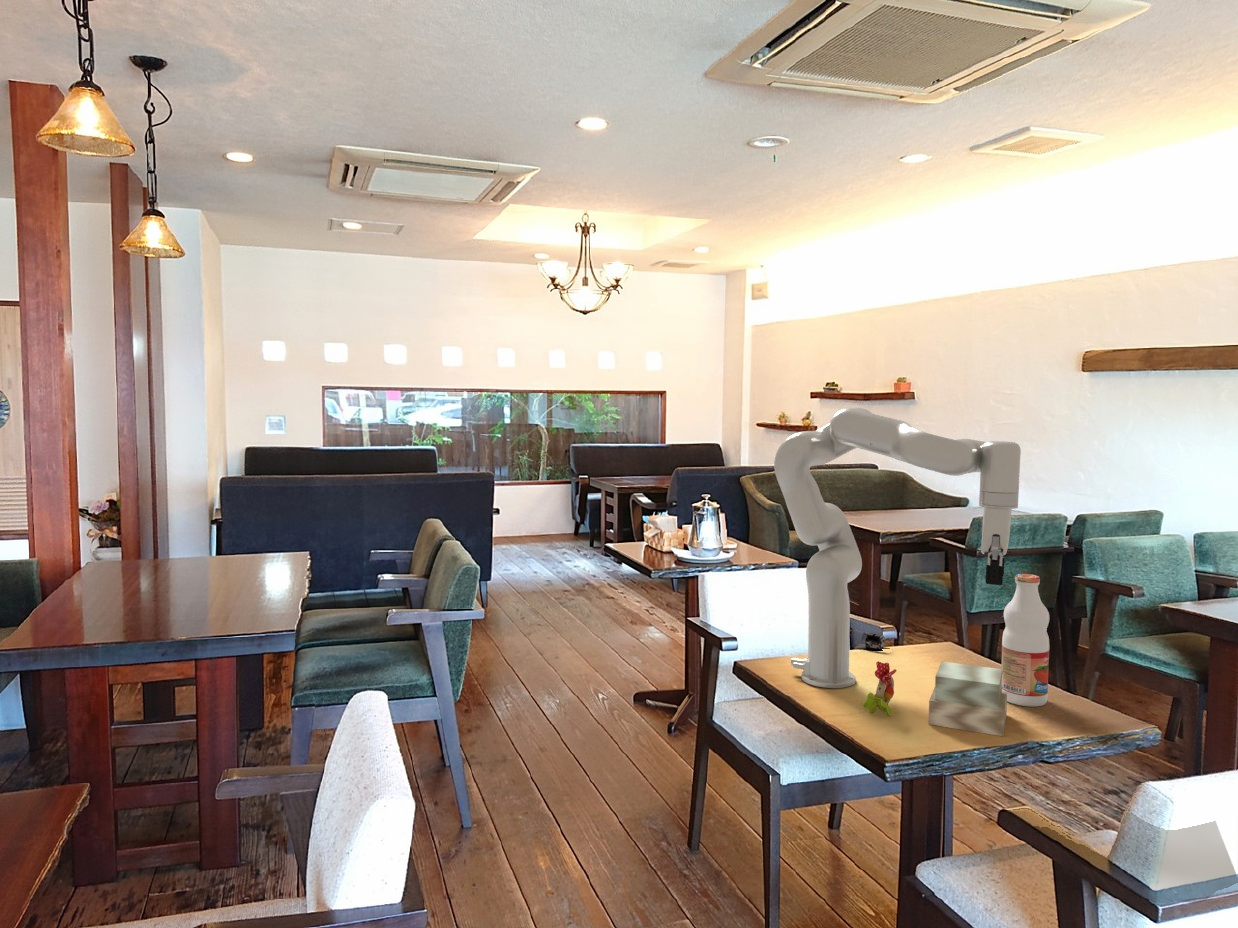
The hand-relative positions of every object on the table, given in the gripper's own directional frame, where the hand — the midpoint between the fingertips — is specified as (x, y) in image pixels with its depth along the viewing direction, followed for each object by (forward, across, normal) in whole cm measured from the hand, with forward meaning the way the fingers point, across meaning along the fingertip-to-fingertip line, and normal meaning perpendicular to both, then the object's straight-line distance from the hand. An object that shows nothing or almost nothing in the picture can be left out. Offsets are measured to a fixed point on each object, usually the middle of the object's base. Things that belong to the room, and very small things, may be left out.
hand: (994, 579), depth 178 cm
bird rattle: (+29, +10, -21) cm, 37 cm away
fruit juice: (+29, -10, +7) cm, 31 cm away
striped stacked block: (+28, +8, -4) cm, 30 cm away
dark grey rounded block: (+30, -37, -30) cm, 56 cm away
